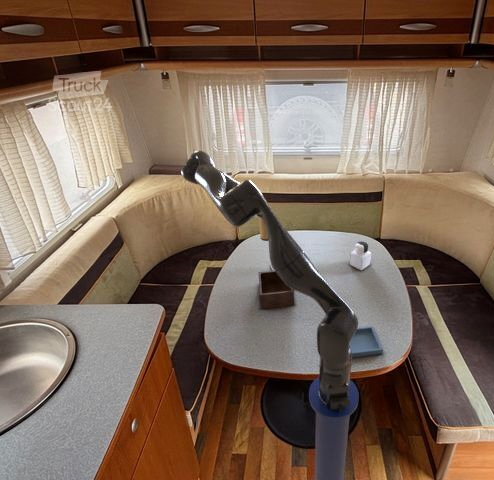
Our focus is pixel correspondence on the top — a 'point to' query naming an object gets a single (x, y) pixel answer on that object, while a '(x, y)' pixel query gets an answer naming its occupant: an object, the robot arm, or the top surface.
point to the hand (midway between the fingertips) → (270, 217)
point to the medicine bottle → (360, 256)
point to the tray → (365, 342)
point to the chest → (274, 291)
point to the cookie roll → (263, 230)
